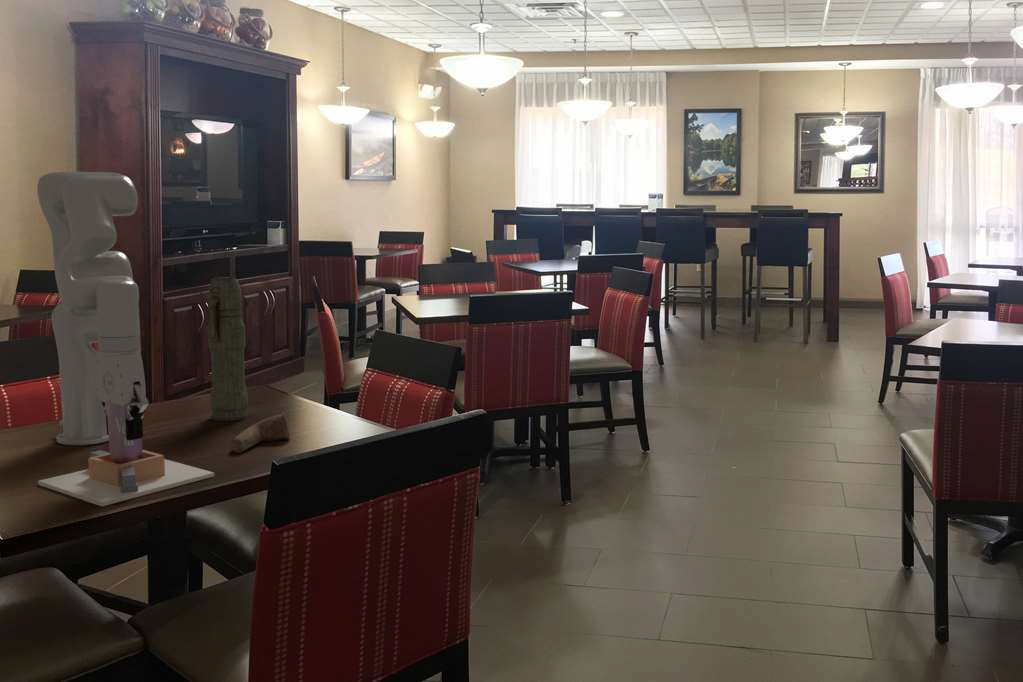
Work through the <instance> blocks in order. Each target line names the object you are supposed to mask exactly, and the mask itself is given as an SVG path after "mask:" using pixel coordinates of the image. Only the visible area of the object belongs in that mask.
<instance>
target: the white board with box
mask: <svg viewBox="0 0 1023 682" xmlns="http://www.w3.org/2000/svg"><path fill="white" fill-rule="evenodd" d="M142 451H143V459H140V460H136V461H132V462H127V463H123V464H116V463H112V462H110V451H109V452H108V451H105V450H101V449H99V450H96V451H90V452H89V453H90V457H88V458H87V460H88V468H86V469H84V470H79V471H75V472H70V473H67V474H66V473H65V474H61V475H57V476H53V477H49V478H45V479H40V480H38V481H37V483H38V485H39V486H41V487H44V488H47V489H49V490H53V491H56V492H59V493H62V494H64V495H67V496H70V497H74V498H75V499H78V500H81V499H82V501H85V502H88V503H91V504H93V505H97V506H99V507H106V506H108V505H112V504H117V503H120V502H124V501H128V500H131V499H134V498H139V497H142V496H146V495H149V494H154V493H157V492H162V491H165V490H169V489H172V488H176V487H180V486H183V485H187V484H191V483H192V484H193V483H196V482H198V481H202V480H205V479H209V478H214V477H215V472H214V471H210V470H206V469H202V468H199V467H195V466H193V465H192V466H191V465H189V464H184V463H180V462H177V461H173V460H169V459H165V455H164V454H160V453H156V452H153V451H148V450H145V449H142Z"/></svg>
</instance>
